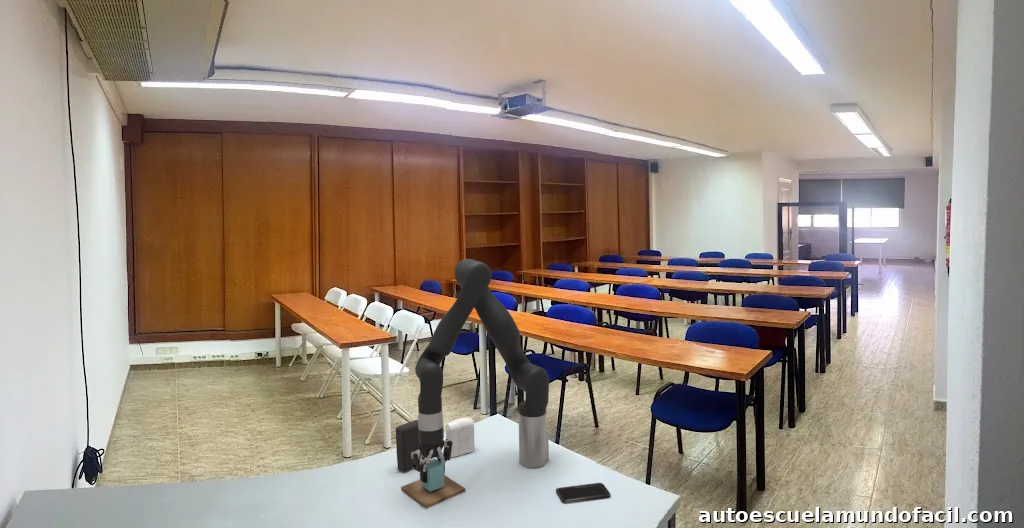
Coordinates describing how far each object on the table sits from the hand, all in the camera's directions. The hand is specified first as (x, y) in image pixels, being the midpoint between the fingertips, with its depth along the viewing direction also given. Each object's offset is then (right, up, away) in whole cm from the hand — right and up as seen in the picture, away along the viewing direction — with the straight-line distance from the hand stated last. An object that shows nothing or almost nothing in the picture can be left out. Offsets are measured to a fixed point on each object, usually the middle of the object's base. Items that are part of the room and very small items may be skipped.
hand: (432, 478), depth 164 cm
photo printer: (+6, -1, +25) cm, 26 cm away
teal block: (0, -2, 0) cm, 2 cm away
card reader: (-9, -3, +16) cm, 19 cm away
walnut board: (0, -4, 0) cm, 4 cm away
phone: (+45, -4, -3) cm, 45 cm away
